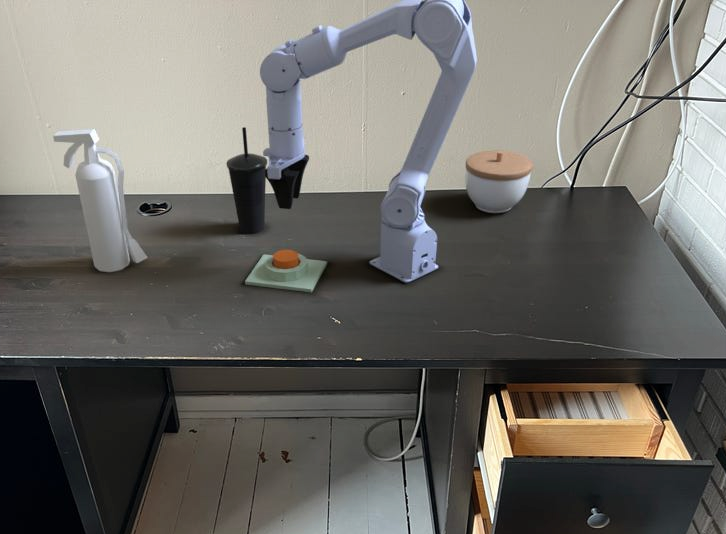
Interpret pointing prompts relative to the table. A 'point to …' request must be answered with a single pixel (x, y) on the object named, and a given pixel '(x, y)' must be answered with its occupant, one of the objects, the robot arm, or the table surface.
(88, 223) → the fire extinguisher
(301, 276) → the button block
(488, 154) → the lidded bowl
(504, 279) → the table surface
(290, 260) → the button
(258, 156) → the drinking cup
